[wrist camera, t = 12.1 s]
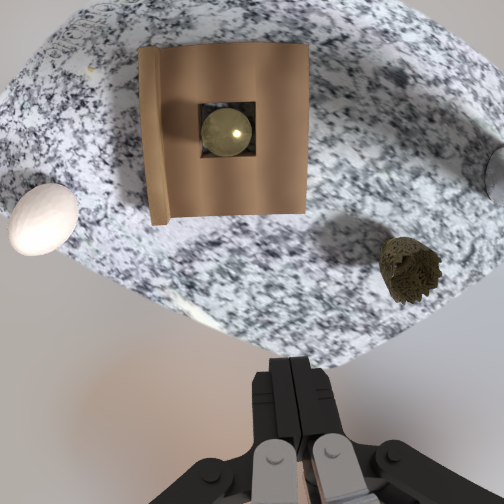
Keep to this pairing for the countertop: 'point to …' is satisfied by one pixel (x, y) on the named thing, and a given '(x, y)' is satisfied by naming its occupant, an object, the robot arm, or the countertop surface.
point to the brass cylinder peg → (226, 132)
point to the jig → (190, 125)
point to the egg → (43, 219)
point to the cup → (408, 269)
